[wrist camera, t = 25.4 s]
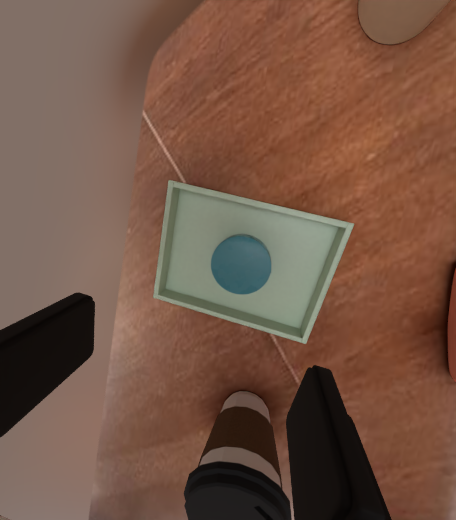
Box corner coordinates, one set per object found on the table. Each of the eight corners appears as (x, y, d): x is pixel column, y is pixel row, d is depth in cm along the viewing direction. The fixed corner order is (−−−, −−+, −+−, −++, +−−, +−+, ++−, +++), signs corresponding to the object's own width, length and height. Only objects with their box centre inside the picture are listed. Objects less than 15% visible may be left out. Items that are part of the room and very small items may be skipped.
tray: (162, 289, 29) (152, 297, 27) (177, 181, 25) (168, 179, 22) (302, 331, 27) (305, 344, 24) (345, 221, 23) (354, 223, 20)
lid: (278, 241, 24) (279, 244, 22) (263, 294, 26) (263, 301, 24) (220, 227, 25) (216, 229, 23) (210, 280, 27) (206, 286, 25)
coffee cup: (250, 364, 30) (239, 466, 18) (299, 418, 30) (319, 548, 19) (196, 397, 33) (158, 500, 21) (242, 444, 34) (229, 568, 22)
